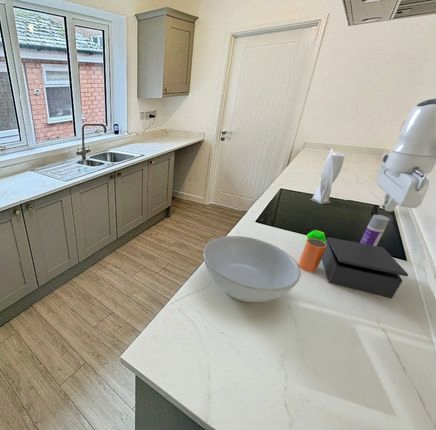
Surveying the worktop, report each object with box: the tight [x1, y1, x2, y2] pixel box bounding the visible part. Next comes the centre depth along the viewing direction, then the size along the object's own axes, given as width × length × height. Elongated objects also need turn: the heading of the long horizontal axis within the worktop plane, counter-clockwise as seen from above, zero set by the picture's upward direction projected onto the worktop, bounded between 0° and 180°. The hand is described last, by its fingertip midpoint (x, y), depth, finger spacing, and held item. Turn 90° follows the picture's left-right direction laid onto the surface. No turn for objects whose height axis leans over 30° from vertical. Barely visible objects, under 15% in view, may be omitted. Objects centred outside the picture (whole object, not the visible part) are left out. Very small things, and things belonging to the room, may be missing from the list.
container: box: [359, 214, 390, 246], centre depth 99 cm, size 5×5×15 cm
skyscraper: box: [309, 147, 346, 205], centre depth 138 cm, size 8×8×28 cm
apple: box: [306, 229, 327, 243], centre depth 107 cm, size 7×6×9 cm
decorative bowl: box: [203, 235, 302, 303], centre depth 83 cm, size 27×27×12 cm
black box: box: [321, 239, 403, 299], centre depth 88 cm, size 18×16×8 cm
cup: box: [297, 238, 327, 273], centre depth 91 cm, size 6×6×11 cm
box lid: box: [326, 236, 409, 277], centre depth 85 cm, size 18×16×1 cm
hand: (386, 209), depth 77 cm, fingers closed
